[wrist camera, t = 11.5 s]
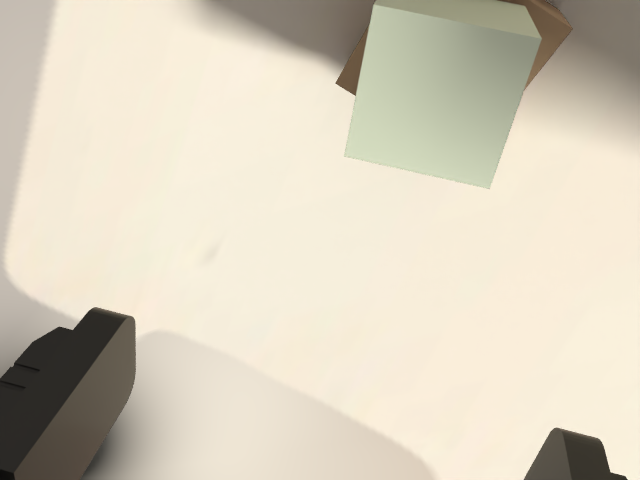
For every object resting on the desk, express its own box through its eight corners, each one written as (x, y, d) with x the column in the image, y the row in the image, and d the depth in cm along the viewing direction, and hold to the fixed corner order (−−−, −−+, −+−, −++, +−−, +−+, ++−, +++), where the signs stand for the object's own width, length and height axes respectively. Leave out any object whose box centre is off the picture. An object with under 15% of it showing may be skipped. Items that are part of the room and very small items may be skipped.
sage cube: (525, 5, 24) (541, 38, 19) (483, 134, 27) (489, 188, 22) (388, -22, 24) (373, 4, 20) (362, 107, 27) (344, 156, 23)
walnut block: (558, 9, 28) (572, 28, 24) (465, 132, 31) (466, 163, 28) (428, -78, 27) (424, -70, 23) (348, 59, 30) (335, 83, 27)
